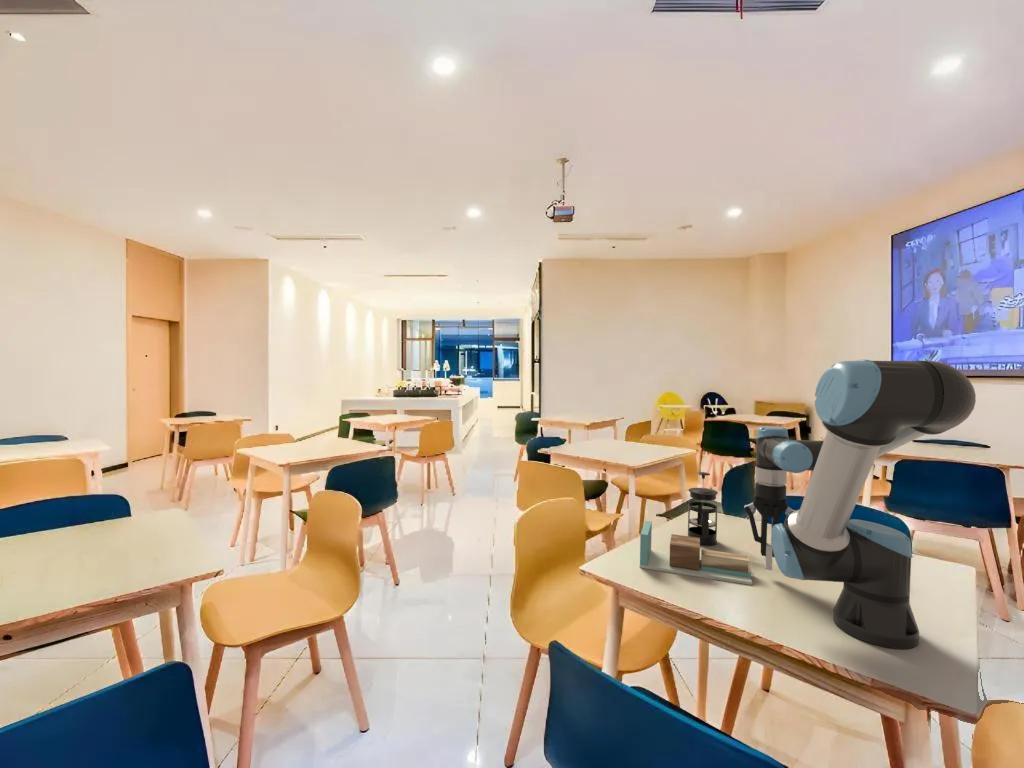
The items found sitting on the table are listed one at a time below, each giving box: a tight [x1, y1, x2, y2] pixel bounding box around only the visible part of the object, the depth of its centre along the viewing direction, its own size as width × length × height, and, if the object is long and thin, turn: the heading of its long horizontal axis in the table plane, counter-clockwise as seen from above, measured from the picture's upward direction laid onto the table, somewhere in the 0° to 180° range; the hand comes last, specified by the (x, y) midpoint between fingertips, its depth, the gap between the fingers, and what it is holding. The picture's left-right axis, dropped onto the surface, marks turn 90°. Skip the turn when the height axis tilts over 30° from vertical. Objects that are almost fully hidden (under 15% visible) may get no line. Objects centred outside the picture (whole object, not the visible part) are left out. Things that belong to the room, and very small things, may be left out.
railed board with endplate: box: [639, 520, 753, 586], centre depth 138 cm, size 13×29×10 cm, turn 69°
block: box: [669, 533, 701, 570], centre depth 139 cm, size 9×8×6 cm
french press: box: [687, 471, 718, 547], centre depth 159 cm, size 12×9×23 cm
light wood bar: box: [700, 548, 749, 573], centre depth 135 cm, size 4×12×4 cm, turn 69°
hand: (768, 567), depth 131 cm, fingers closed
